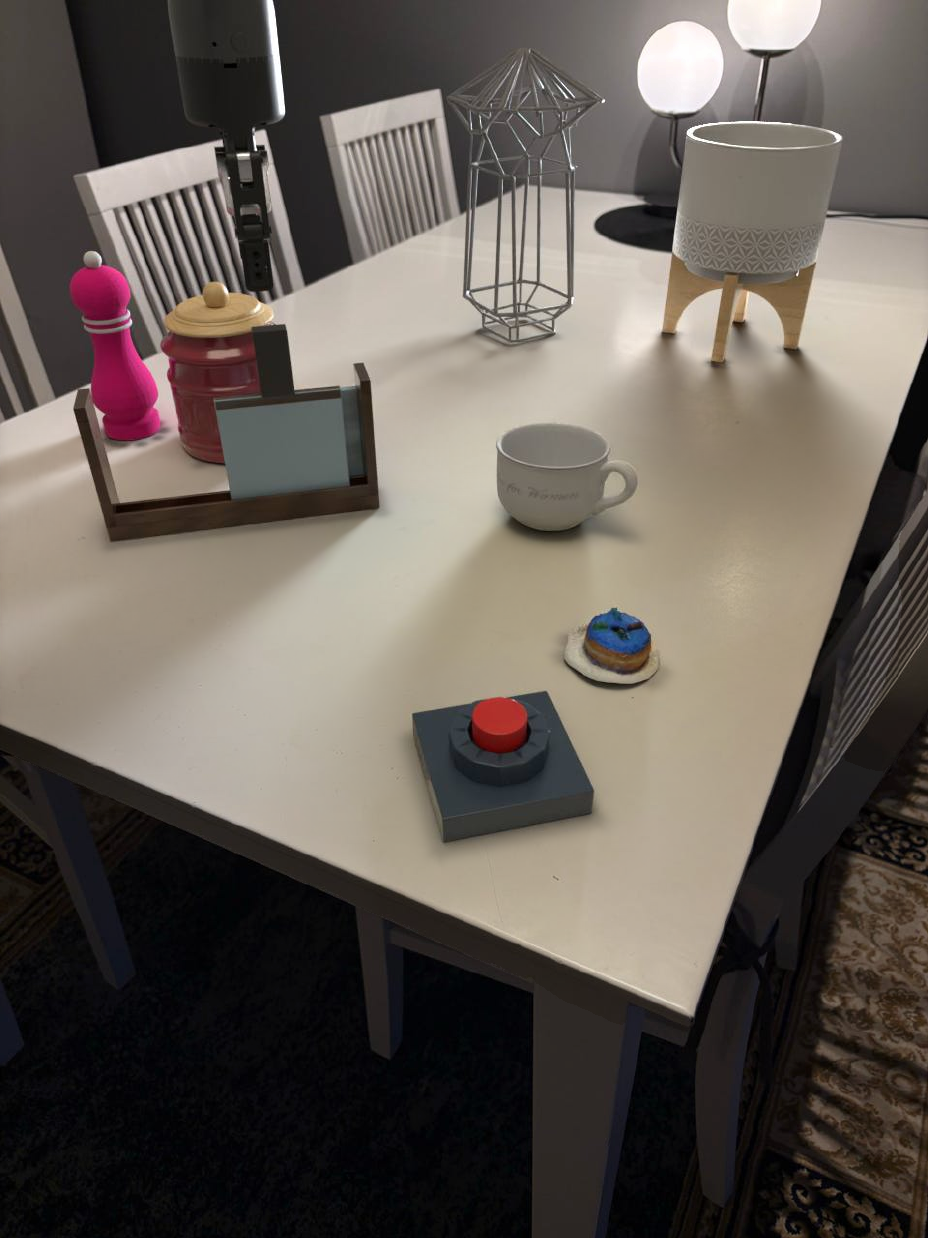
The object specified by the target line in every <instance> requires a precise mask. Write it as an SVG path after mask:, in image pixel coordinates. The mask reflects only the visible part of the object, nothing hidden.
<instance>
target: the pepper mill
mask: <svg viewBox="0 0 928 1238" xmlns="http://www.w3.org/2000/svg"><path fill="white" fill-rule="evenodd" d="M83 263H84V265H85V266H84V267H83V268H80V269H79V270H78V271H76V272H75V273H74V274H73V275H72V278H71V281H70V285H69V293H70V298H71V302H72V303H73V304H74V306H75V307H76V308H77V309H78V310H79V311H80V312H82V313H83V314H82V315H81V320H82V322H83V323H84V324H83V329H84V330H85V331H87V332H88V333H89V336H90V338H91V341H92V345H93V352H94V353H93V354H94V362H93V369H92V375H91V380H90V393H91V396H92V400H93V404H94V408H95V409H97V410H98V411H99V412H100V413H102V414H104V415H103V417H102V419H101V420H102V425H103V429H104V432H105V434H106V436H108V437H109V438H111V439H112V440H117V441H136V440H140V439H144V438H149V437H150V436H152V435H154V434H156V433H157V432H158V431H159V430H160V428H161V427H162V423H161V419H160V414H159V411H158V410H157V408H155V407H154V406H155V405H156V402H157V401H158V398H159V390H158V386H157V383H156V381H155V379H154V376H153V375H152V372H151V371H150V370H149V368H148V367H147V365H146V364H145V363H144V361H143V360H142V359H141V357H140V355H139V353H138V352H137V349H136V347H135V345H134V342H133V340H132V336H131V335H132V334H131V329H130V327H131V326H132V324H133V320H132V319H131V310H129V309H128V308H127V306H128V304H129V303H130V300H131V289H130V286H129V283H128V281H127V279H126V278H125V276H124V275H123V274H122V273H121V272H120V271H118V270H117V269H116V268H114V267H112V266H108V265H104V264H102V263H103V260H102V256H101V255H100V253H98V252H97V251H94V250H89V251H87V252H85V253H84V255H83Z"/></svg>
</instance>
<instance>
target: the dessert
mask: <svg viewBox="0 0 928 1238" xmlns="http://www.w3.org/2000/svg"><path fill="white" fill-rule="evenodd" d="M618 609H619V608H618V607H617V606H616V607H611V608H610V609H609V610H608V611H607V612H603V613H600V614H598V615H594V616H593V617H592V619H591V620H590V621H589V622H588V624H587V623H585V624H581V625H580V626H577V628H576V629H575V630H574V629H572V630H571V631H570V632H568V635H567V639H566V640H567V642H566V644H565V647H564V649H563V659H564V661H565V662H566V663H567V664H568V665H569V666H570V667H572V668H573V669H575V670H576V671H578V672H579V673H581V674H582V675H583V676H584V677H587V678H588V679H591V680H594V681H596V682H605V683H614V684H623V685H624V684H627V685H629V684H635V683H639V682H642V681H646V680H649V679H650V678H651V677H652V676H653V675H655V674H656V672H658V671H657V670H658V669H659V667H660V654H659V649H658V646H657V645H656V644H655V642H654V641H653V640H652V634H651V633H650V631H649V629H648V627H646V625H645V623H644V622H643V621H642V620H640V618H638V617H636V616H634V615H631V614H628V613H626V612H621V611H619V610H618Z"/></svg>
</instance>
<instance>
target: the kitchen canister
mask: <svg viewBox="0 0 928 1238" xmlns="http://www.w3.org/2000/svg"><path fill="white" fill-rule="evenodd" d="M274 317H275V313H274V310H273V309H272V308H271V306H270V305H267V304H266V303H263V302H261V301H260V300H258V299H257V298H256V297H254V296H251V295H249V294H245V293H238V292H229V290H228V289H227V287H226V286H225V285H224V284H223V283H222V282H219V281H211V282H208V283H206V284H205V285H204V286H203V289H202V294H201V295H197V296H192V297H189V298H186V299H184V300H183V301H181V302H179V303H178V304H177V305H176V307H175V308H174V309H173V310H171V311H170V312H169V313H167V315H166V316H165V317H164V320H163V324H164V327H165V328H166V330H168V332H167V333H165V334H164V335H163V337H162V338H161V341H160V344H159V345H160V350H161V352H162V353H163V354H164V355H166V356H167V359H168V366H169V367H168V369H167V372H166V378H167V380H168V383H169V386H170V390H171V394H172V400H173V405H174V409H175V413H176V418H177V430H178V431H177V432H178V436H179V439H180V441H181V442H182V443H183V447H184V450H185V451H186V452H187V453H188V454H189V455H190V456H192V457H194V458H196V459H198V460H201V461H205V462H209V463H214V464H225V460H224V454H223V449H222V443H221V438H220V432H219V427H218V421H217V415H216V410H215V404H214V398H218V397H228V396H239V395H249V394H259V393H261V389H260V382H259V376H258V369H257V362H256V355H255V348H254V342H253V335H252V328H251V327H255V326H267V325H277V324H276V323H275V322H273V321H272V320H273V319H274Z"/></svg>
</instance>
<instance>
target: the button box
mask: <svg viewBox="0 0 928 1238" xmlns="http://www.w3.org/2000/svg"><path fill="white" fill-rule="evenodd" d="M505 698H509V699H512V700H514V701H516V702H518V703H519V704H521V705H522V706H523V707H524V709H525V710H526V713H527V732H526V739H525V742H524V743H523V744H522V746H521V747H519V748H518V749H516V750H514V751H512V752H508V753H502V754H498V753H493V752H488V751H485V750H483V749H481V748H480V747H479V746H478V745H477V744H476V743H475V742H474V740H473V737H472V713H473V710H474V708H475V707H476V706H477V705H478V704H479V703H480V702H482V701H484V700H486V699H487V698H484V699H478V700H475V701H473V702H471V703H464V704H458V705H453V706H452V705H451V706H447V707H441V708H435V709H428V710H422V711H416V712H412V713H411V717H412V718H411V722H412V737H413V741H414V743H415V746H416V751H417V755H418V757H419V761H420V765H421V768H422V772H423V775H424V779H425V782H426V786H427V790H428V793H429V796H430V801H431V804H432V807H433V811H434V815H435V818H436V822H437V825H438V829H439V832H440V836H441V839H442V842H444V843H445V842H451V841H455V840H461V839H467V838H471V837H476V836H477V837H478V836H481V835H487V834H491V833H496V832H497V833H498V832H502V831H507V830H513V829H517V828H522V827H527V826H532V825H539V824H543V823H547V822H552V821H553V822H554V821H558V820H564V819H569V818H574V817H578V816H583V815H588V814H591V813H593V805H594V795H595V789H594V787H593V785H592V783H591V781H590V779H589V777H588V775H587V772H586V770H585V768H584V766H583V764H582V762H581V760H580V758H579V755H578V753H577V751H576V749H575V747H574V745H573V743H572V741H571V739H570V737H569V734H568V732H567V730H566V729H565V726H564V724H563V722H562V720H561V718H560V715H559V713H558V711H557V709H556V707H555V705H554V703H553V701H552V699H551V696H550V694H549V692H548V691H547V690H541V691H537V692H530V693H524V694H519V695H513V696H507V697H505Z"/></svg>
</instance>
